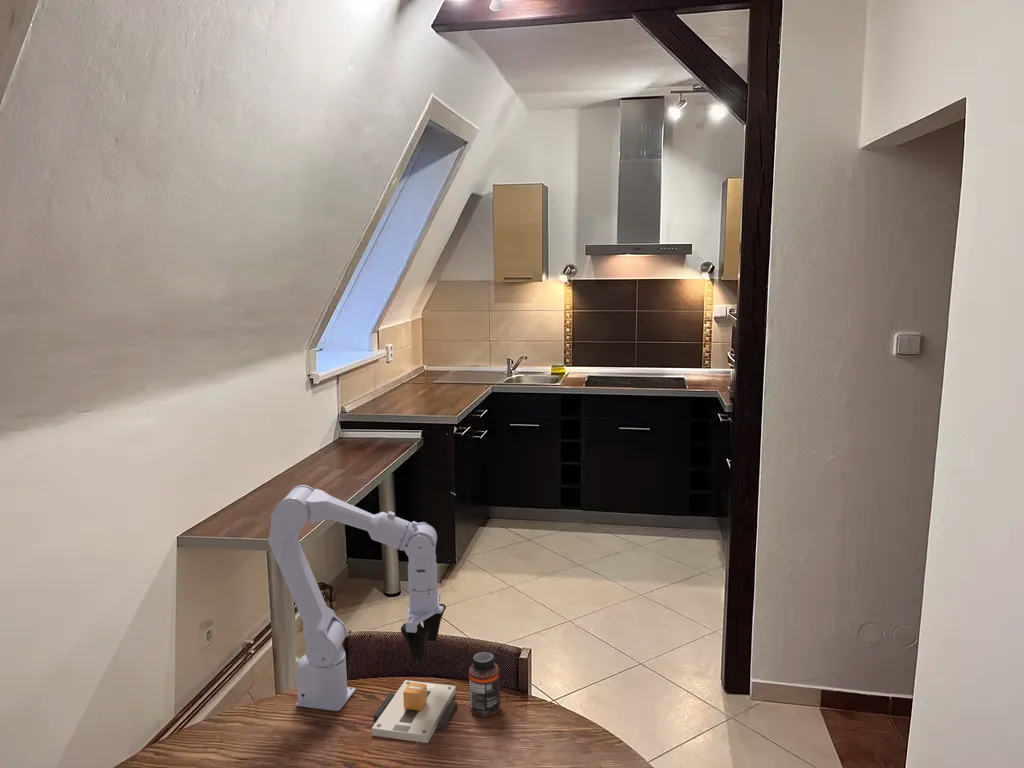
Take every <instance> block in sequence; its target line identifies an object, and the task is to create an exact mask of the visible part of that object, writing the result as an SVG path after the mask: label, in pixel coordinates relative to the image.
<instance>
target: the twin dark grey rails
mask: <svg viewBox="0 0 1024 768" xmlns="http://www.w3.org/2000/svg"><path fill="white" fill-rule="evenodd" d="M394 696H395V693H392V692H389V693H388V695H386V697H385V699H384V700H383V701H382V702H381V704H380V706H379V707H378V708H377V710H376V711H375V713H374V714H373V718H372V719H373V721H375V722H376V721H377V720H378V719H379V717H380V716H381V714H382V713H383V711H384V710H385V708H386V707H387V706H388V704H389V703H390V701H391V700H392V698H393V697H394ZM457 707H458V701H456V700H452V701H451V702H450V704H449V706H448V708H447V710H446V711H445V713H444V715H443V717H442V718H441V720H440V722H439V724H438V729H439V730H444V731H445V729H446V728H447V725H448V723H449V721H450V720H451V719H452V716H453V715H454V712H455V711H456V709H457Z"/></svg>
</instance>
